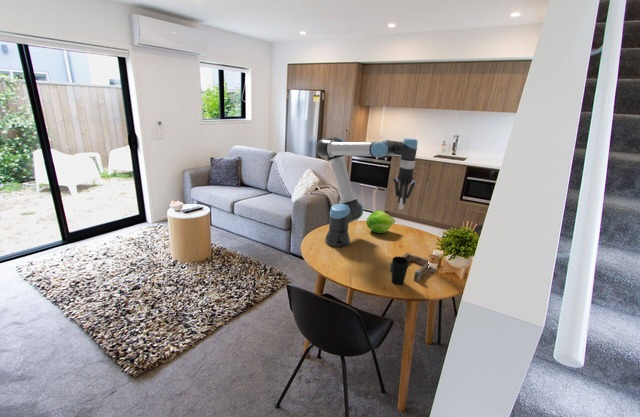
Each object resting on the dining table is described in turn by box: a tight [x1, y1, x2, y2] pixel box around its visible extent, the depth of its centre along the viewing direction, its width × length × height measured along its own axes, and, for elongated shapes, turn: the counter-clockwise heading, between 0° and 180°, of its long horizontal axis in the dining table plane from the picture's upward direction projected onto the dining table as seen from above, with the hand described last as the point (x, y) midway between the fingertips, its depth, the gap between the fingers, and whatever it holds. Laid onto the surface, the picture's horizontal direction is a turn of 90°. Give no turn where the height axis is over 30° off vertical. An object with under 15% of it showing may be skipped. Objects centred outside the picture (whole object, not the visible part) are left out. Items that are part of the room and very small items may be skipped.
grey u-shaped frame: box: [389, 252, 430, 283], centre depth 163 cm, size 15×20×5 cm
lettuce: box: [365, 210, 396, 234], centre depth 210 cm, size 15×20×14 cm
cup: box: [391, 256, 410, 286], centre depth 148 cm, size 8×8×12 cm
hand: (400, 208), depth 176 cm, fingers closed
